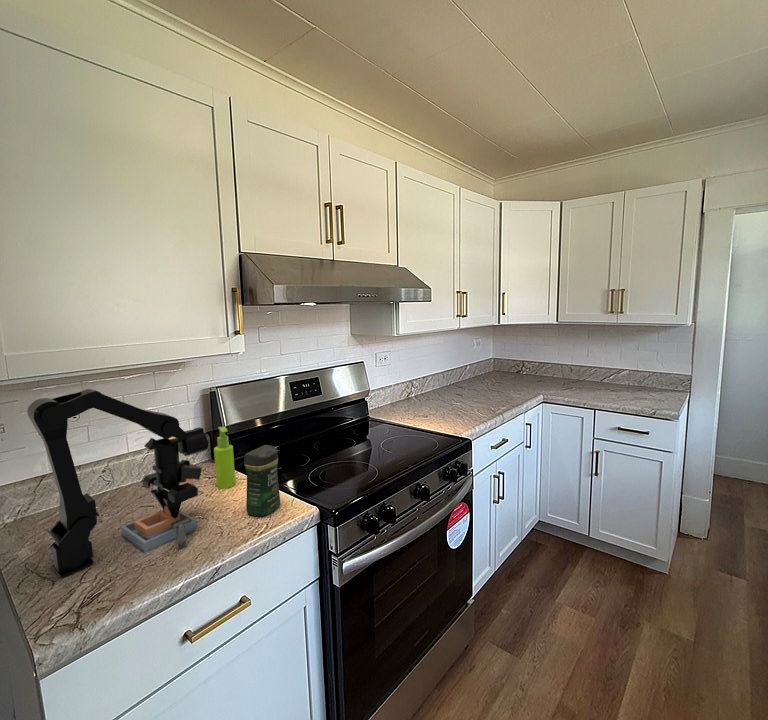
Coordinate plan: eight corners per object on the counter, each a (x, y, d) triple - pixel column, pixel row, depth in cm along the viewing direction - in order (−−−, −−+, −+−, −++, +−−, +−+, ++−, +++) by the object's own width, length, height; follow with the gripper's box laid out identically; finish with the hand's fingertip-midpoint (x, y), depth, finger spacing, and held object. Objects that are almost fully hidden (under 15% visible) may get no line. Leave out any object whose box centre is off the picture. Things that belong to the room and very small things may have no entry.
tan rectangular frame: (146, 537, 106) (145, 522, 105) (134, 528, 110) (133, 514, 109) (183, 521, 113) (182, 507, 113) (171, 514, 117) (169, 500, 117)
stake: (176, 551, 103) (173, 525, 102) (172, 548, 104) (169, 522, 103) (192, 544, 106) (189, 518, 105) (187, 541, 107) (185, 516, 106)
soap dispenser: (219, 491, 136) (214, 431, 133) (215, 484, 141) (210, 426, 139) (238, 487, 139) (234, 428, 136) (233, 480, 144) (229, 423, 142)
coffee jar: (264, 519, 117) (260, 455, 115) (242, 514, 120) (238, 452, 118) (285, 504, 126) (282, 444, 124) (264, 500, 129) (260, 441, 127)
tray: (145, 552, 102) (144, 543, 102) (121, 535, 110) (120, 526, 110) (197, 528, 113) (196, 520, 113) (172, 514, 121) (171, 506, 121)
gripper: (214, 458, 113) (218, 513, 115) (179, 445, 124) (183, 496, 126) (173, 472, 104) (178, 531, 106) (139, 457, 115) (144, 511, 117)
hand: (172, 516), depth 114 cm, fingers closed on tan rectangular frame, 3 cm apart
